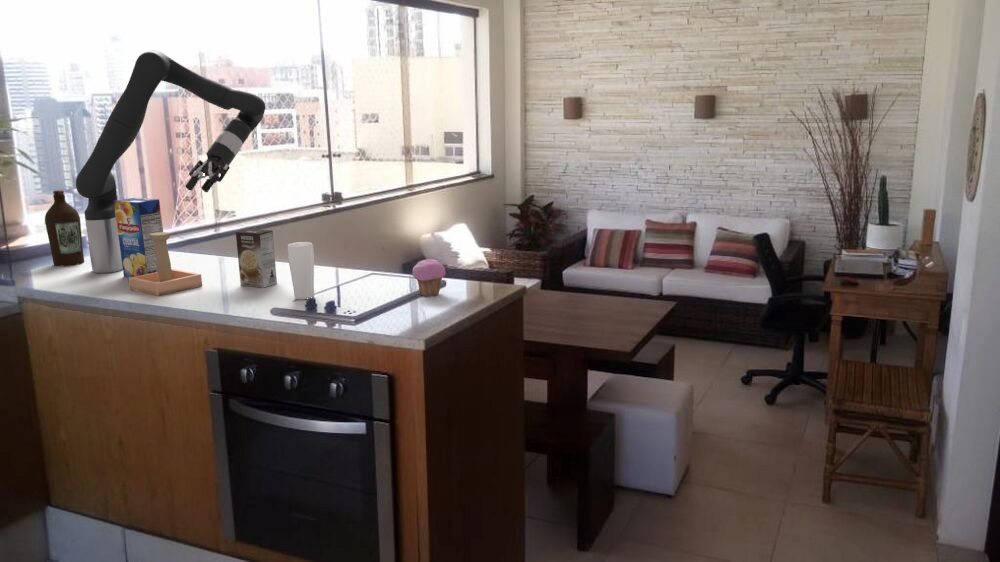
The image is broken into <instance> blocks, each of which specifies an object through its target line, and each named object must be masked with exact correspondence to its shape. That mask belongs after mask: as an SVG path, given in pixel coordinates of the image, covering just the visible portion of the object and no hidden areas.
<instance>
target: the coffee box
mask: <svg viewBox="0 0 1000 562" xmlns="http://www.w3.org/2000/svg"><path fill="white" fill-rule="evenodd" d="M235 239H236V249H237V259H238V260H237V261H238V270H239V282H240V286H245V287H254V288H255V287H256V288H262V289H263V288H264V289H265V288H267V287H270V286H272V285H276V284H277V283H278V278H277V269H276V256H275V255H276V254H275V243H274V242H275V241H274V231H273V230H272V229H259V228H246V229H243V230H238V231H236V232H235Z"/></svg>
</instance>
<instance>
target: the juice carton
mask: <svg viewBox="0 0 1000 562" xmlns="http://www.w3.org/2000/svg"><path fill="white" fill-rule="evenodd" d="M160 202H161V201H160V198H146V197H145V198H143V197H129V198H123V199H117V200H115V201H114V207H115V215H116V222H117V229H118V237H119V244H120V252H121V259H122V266H123V270H122V273H123V277H124V278H131V277H135V276H140V275H145V274H150V273H155V272H157V265H156V254H155V244H154V241H152V240H151V239H150V235H149V234H151V233H157V232H164V228H163V219H162V211H161V203H160Z"/></svg>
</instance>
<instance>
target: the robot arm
mask: <svg viewBox="0 0 1000 562" xmlns="http://www.w3.org/2000/svg"><path fill="white" fill-rule="evenodd" d="M134 63H135V64H134V66H133V69H132V72H131V75H130V76H129V77H130V78H129V80H128V82H127V84H126V87H125V90H123V92H122V94H121V95H120V97H119V98H118V101H117V102H116V104H115V106H114V108H113V109H112V111H111V113H110V115H109V117H108V119H107V121H106V123H105V125H104V128H103V129H102V131H101V134H100V135H99V138H98V140H97V142H96V144H95V146H94V148H93V151H92V153H91V154H90V156H89V157H88V159H87V161H86V162H85V163H84V165H83V167H82V168H81V169H80V171H79V172H78V174H77V176H76V179H75V189H76V190H77V192H78V194H79V195H80V196H81V197H83V198H85V199H87V200H88V203H87V207H86V209H85V210H84V218H85V219H84V220H85V227H86V232H87V233H86V234H87V239H88V240H87V241H88V242H87V244H88V249H89V250H88V251H89V257H90V265H91V270H92V273H96V274H105V273H106V274H108V273H114V272H116V273H117V272H118V271H119V272H120V271H123V266H122V259H121V252H120V244H119V237H118V229H117V222H116V215H115V207H114V201H115V200H118V193H117V184H116V180H115V177H114V175H113V173H112V172H111V171H112V169H113V167H114V166H115V164H116V162H117V161H118V160H119V159H120V158H121V157H122V156H123V155H124V154H125V153H126V151H127V150H128V149H129V148H130V146H132V144H133V142H134V141H135V139H136V138H137V136H138V133H139V132H140V130H141V127H142V125H143V123H144V121H145V116H146V113H147V109H148V105H149V102H150V100H151V98H152V96H153V94H154V92H155V91H156V89H157V88H158V86H159V85H160V83H161V82H165V83H169V84H172V85H176V86H177V87H180V88H183V89H184V90H186V91H188V92H189V93H192V94H193V95H195V96H196V97H198V98H199V99H201V100H203V101H206V102H207V103H210V104H212V105H214V106H216V107H219V108H220V109H223V110H227V111H229V110H231V109H234V110H237V111H239V112H238V114H237V115H236V117H234V118H233V119H232V120H230V121H229V122H228V124H227V126H225V128H224V129H223V131H222V132H221V133H219V135H218V136H217V137H216V139H215V140H214V141H213V143H212V145H211V146H210V147H209V149H208V150H207V151H206V157H207V159H206V160H205V161H202V160H201V159H199V160H198V161H197V162H196V164H195V165H194V167H192V169H191V170H190V171H189V173H188V175H189V177H190V178H189V180H188V181H187V183H186V184H185V186H184V187H185V188H186V189H187V190H188V191H192V190H193V189H194V188H195V187H196V185H197V184H198V182H199V181H201V180H202V179H206V180H205V181H204V183H203V184H202V186H201V190H202V191H203V192H204V193H208V192H209V191H210V190H211V188H212V187H213V185H215V184H216V183H217V182H219V183H220V182H222V181H223V179H224V177H225V176H226V175H227V173H228V171H229V170H230V168H231V167H230V165H231V163H232V162H233V160H234V159H235V158H236V156H237V155H238V153H239V152H240V150H241V148H242V146H243V145H244V144H245V142H246V141H247V139H248V138H249V136H250V134H251V133H252V132H253V131H254V130H255V129H256V128H257V127H258V125H259V124H260V122H261V121H262V120H263V118H264V114H265V111H266V103H265V102H264V100H263V99H262V98H261V97H260V96H258V95H256V94H255V93H251V92H247V91H243V90H240V89H234V88H232V87H230V86H227V85H225V84H223V83H220V82H218V81H216V80H213V79H212V78H209V77H206V76H205V75H202V74H200V73H198V72H195V71H193V70H191V69H189V68H188V67H185V66H184V65H183V64H180V63H179V62H177V61H175V60H174V59H172V58H171V57H169V56H168V55H166V54H165V53H163V52H161V51H159V50H156V49H155V50H149V51H145V52H143V53H141V54H139V56H138V57H137V59H136V60H135V62H134Z"/></svg>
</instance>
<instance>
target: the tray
mask: <svg viewBox="0 0 1000 562" xmlns="http://www.w3.org/2000/svg"><path fill="white" fill-rule="evenodd" d="M171 271H172V272H171V273H172V277H171V279H172V280H169V281H164V282H160V279H159V276H158V272H155V273H150V274H145V275H140V276H135V277H131V278H130V277H128V283H129V289H130V291H134V292H135V291H136V292H140V293H142V294H143V293H144V294H149V295H153V296H157V297H160V296H164V295H170V294H173V293H174V294H175V293H177V292H182V291H185V290H191V289H194V288H199V287H203V280H202V274H201V273H195V272H190V271H186V270H179V269H175V268H171Z"/></svg>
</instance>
